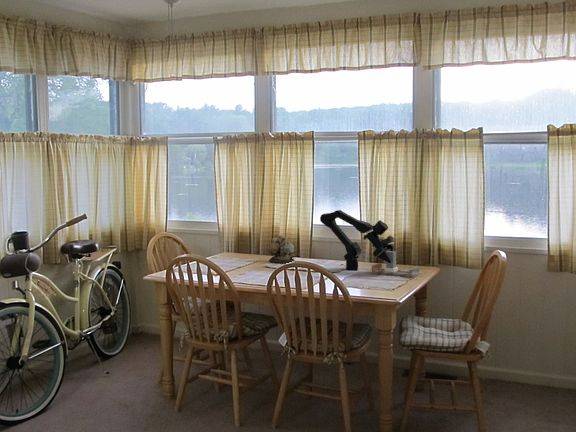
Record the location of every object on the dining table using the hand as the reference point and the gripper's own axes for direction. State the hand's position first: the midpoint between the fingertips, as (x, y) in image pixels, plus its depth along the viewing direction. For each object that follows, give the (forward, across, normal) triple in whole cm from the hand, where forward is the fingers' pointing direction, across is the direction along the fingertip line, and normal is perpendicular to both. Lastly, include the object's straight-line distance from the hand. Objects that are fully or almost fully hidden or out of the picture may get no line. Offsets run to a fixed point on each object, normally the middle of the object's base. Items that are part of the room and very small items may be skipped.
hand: (393, 261), depth 330 cm
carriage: (+3, 0, +5) cm, 6 cm away
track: (+6, 0, +4) cm, 7 cm away
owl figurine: (-47, -1, +58) cm, 74 cm away
